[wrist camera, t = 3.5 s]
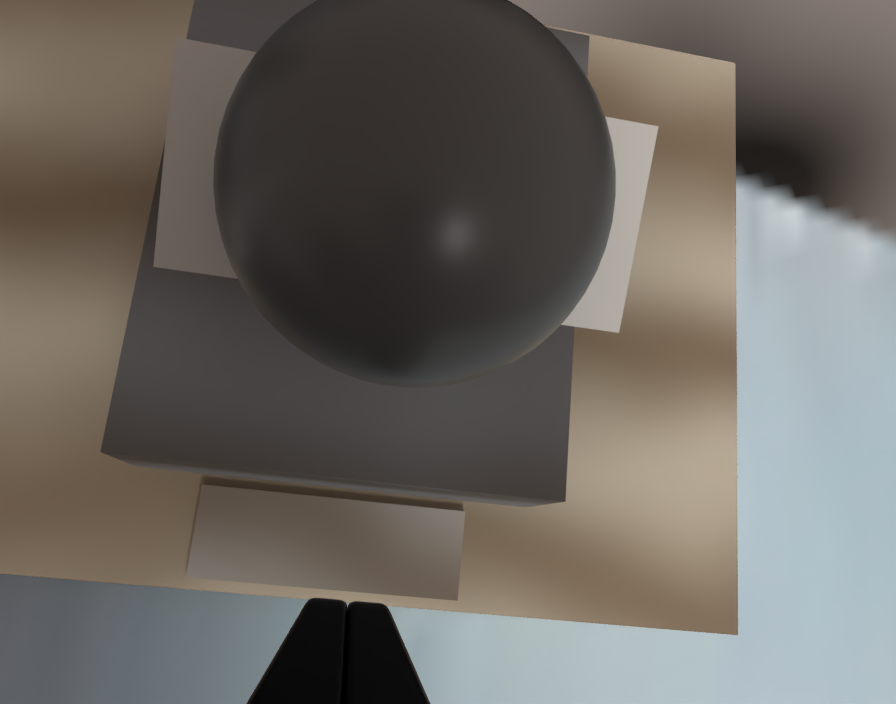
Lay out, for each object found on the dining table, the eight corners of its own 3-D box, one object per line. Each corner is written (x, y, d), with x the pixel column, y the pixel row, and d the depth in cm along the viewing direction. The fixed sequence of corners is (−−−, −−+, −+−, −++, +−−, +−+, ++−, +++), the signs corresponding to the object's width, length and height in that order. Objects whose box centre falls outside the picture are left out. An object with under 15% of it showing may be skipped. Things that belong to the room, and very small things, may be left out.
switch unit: (716, 629, 19) (864, 663, 14) (-140, 558, 16) (-346, 568, 11) (717, 82, 23) (832, -47, 18) (30, -53, 20) (-65, -252, 15)
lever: (464, 297, 16) (707, 468, 5) (267, 268, 15) (52, 392, 4) (487, 149, 15) (814, -20, 4) (286, 114, 15) (96, -179, 4)
